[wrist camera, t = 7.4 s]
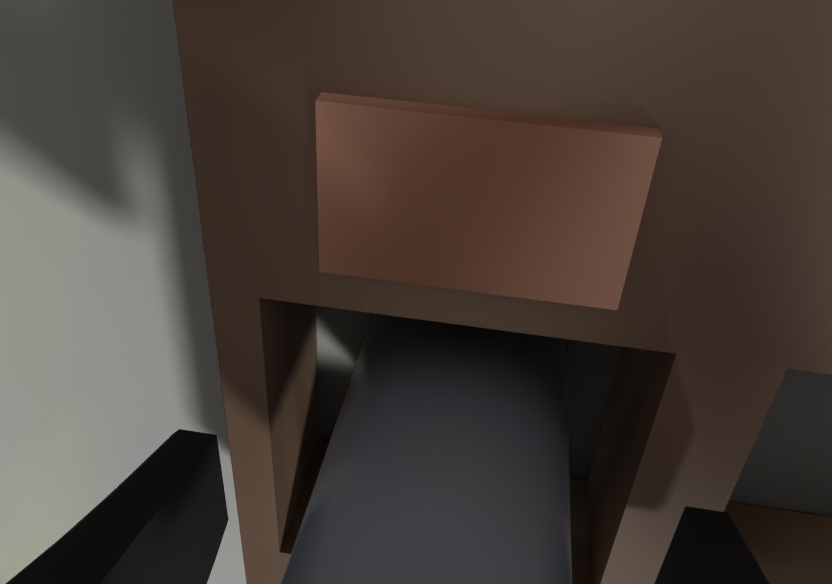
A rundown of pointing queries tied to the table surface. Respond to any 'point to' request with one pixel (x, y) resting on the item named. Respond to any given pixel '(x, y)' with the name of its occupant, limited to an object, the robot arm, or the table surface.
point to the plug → (444, 463)
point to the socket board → (525, 230)
